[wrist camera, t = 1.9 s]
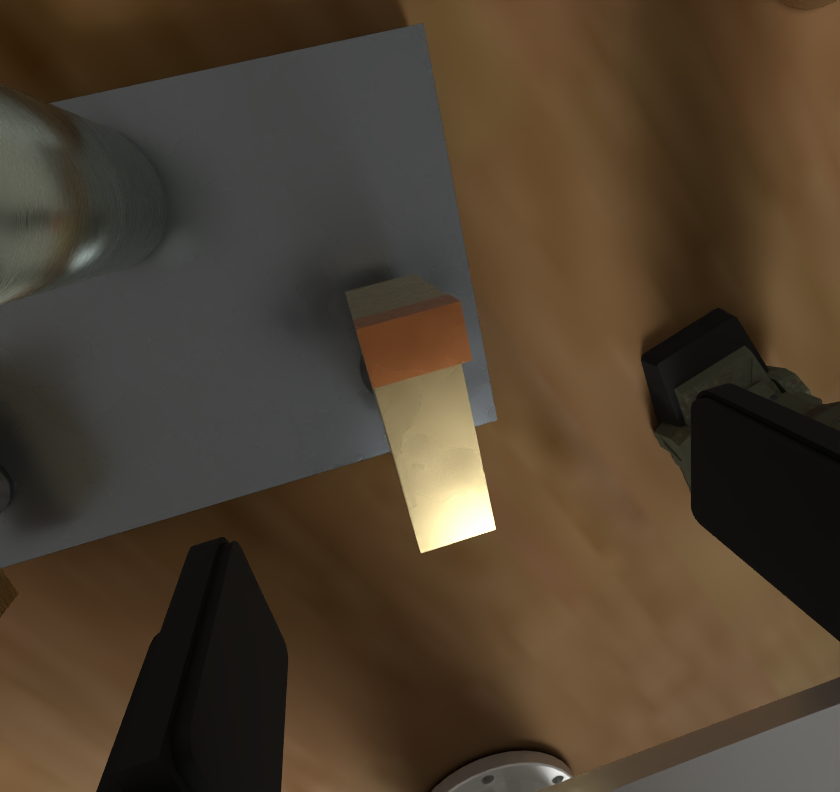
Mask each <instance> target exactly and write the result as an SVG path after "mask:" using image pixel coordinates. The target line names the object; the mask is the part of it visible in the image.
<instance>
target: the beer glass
mask: <svg viewBox="0 0 840 792" xmlns="http://www.w3.org/2000/svg"><path fill="white" fill-rule="evenodd" d="M780 1H781V2H782V3H784V4H785V5H787V6H789V7H792V8H795V9H801V10H810V9H817V8H821V7H824V6H826V5H829V4H831V3H833V2H835V1H837V0H780Z"/></svg>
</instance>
